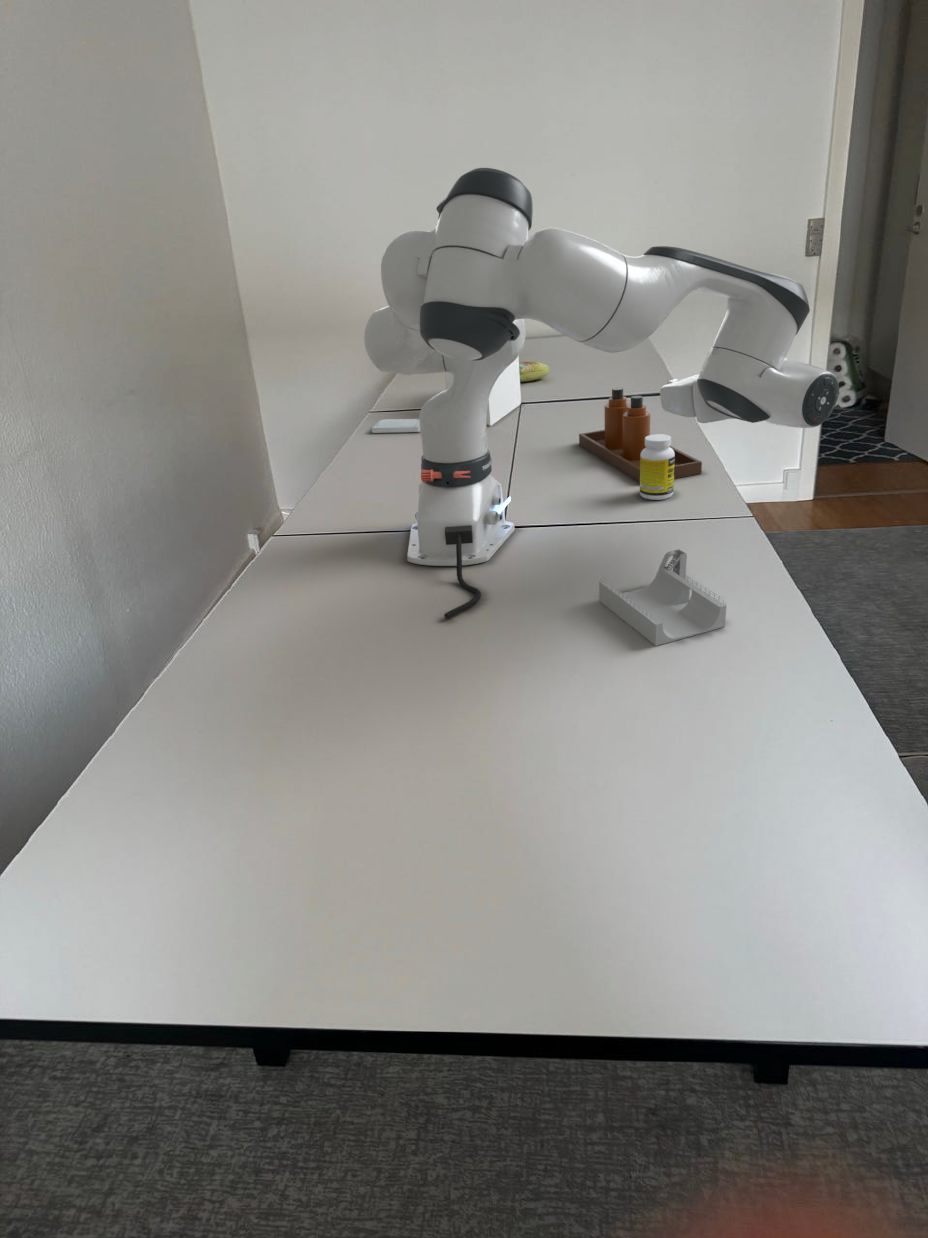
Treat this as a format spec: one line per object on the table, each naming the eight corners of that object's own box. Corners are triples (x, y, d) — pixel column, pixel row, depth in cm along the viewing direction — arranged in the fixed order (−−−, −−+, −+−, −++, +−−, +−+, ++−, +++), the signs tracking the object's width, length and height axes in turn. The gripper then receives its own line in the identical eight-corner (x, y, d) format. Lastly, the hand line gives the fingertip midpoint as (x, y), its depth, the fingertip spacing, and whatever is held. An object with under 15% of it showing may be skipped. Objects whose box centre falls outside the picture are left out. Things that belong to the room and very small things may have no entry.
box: (451, 429, 211) (445, 372, 204) (445, 394, 246) (441, 344, 239) (530, 422, 211) (527, 364, 204) (513, 387, 246) (510, 337, 240)
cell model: (551, 373, 247) (503, 358, 245) (542, 397, 252) (495, 382, 250) (550, 358, 255) (504, 344, 253) (542, 381, 260) (496, 367, 258)
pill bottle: (673, 500, 154) (675, 441, 149) (639, 501, 155) (640, 442, 150) (673, 489, 159) (675, 432, 154) (640, 489, 160) (640, 433, 155)
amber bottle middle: (654, 457, 176) (655, 397, 170) (629, 461, 174) (630, 401, 169) (642, 450, 180) (642, 392, 175) (618, 454, 179) (618, 396, 174)
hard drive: (371, 427, 213) (418, 426, 210) (381, 418, 220) (426, 417, 217) (372, 433, 214) (418, 432, 211) (382, 425, 221) (427, 423, 218)
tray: (701, 473, 165) (701, 461, 164) (643, 484, 163) (643, 472, 162) (629, 435, 193) (629, 425, 191) (579, 444, 190) (578, 433, 189)
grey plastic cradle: (599, 601, 121) (598, 568, 118) (678, 580, 125) (679, 548, 122) (655, 646, 108) (656, 611, 106) (741, 622, 112) (744, 587, 110)
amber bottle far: (634, 446, 183) (635, 389, 178) (611, 450, 182) (611, 392, 176) (623, 440, 188) (623, 384, 182) (600, 444, 187) (600, 387, 181)
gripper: (805, 345, 126) (748, 339, 138) (688, 385, 122) (639, 375, 134) (807, 387, 129) (751, 377, 141) (693, 427, 124) (645, 413, 136)
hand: (696, 376), depth 137 cm, fingers open, 8 cm apart
